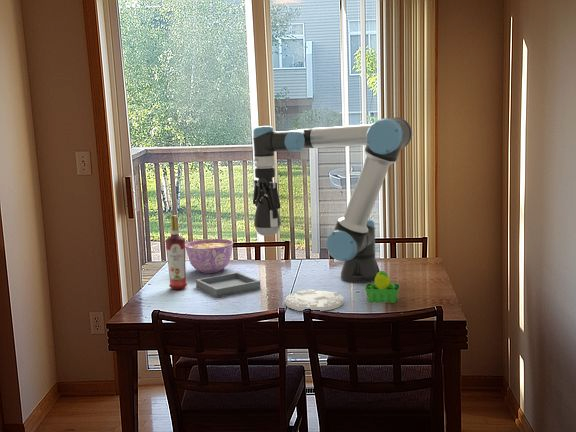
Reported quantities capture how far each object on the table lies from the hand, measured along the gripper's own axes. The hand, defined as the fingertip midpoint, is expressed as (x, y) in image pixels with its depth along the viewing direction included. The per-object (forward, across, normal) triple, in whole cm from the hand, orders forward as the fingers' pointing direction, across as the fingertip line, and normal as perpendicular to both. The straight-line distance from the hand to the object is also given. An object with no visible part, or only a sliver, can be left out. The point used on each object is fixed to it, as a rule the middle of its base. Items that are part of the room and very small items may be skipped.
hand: (267, 224), depth 280 cm
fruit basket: (+22, +50, +16) cm, 57 cm away
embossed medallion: (+22, +38, -4) cm, 45 cm away
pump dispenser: (+4, 0, 0) cm, 4 cm away
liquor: (+22, -11, -33) cm, 42 cm away
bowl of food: (+22, -30, -12) cm, 39 cm away
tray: (+22, 0, -18) cm, 28 cm away
